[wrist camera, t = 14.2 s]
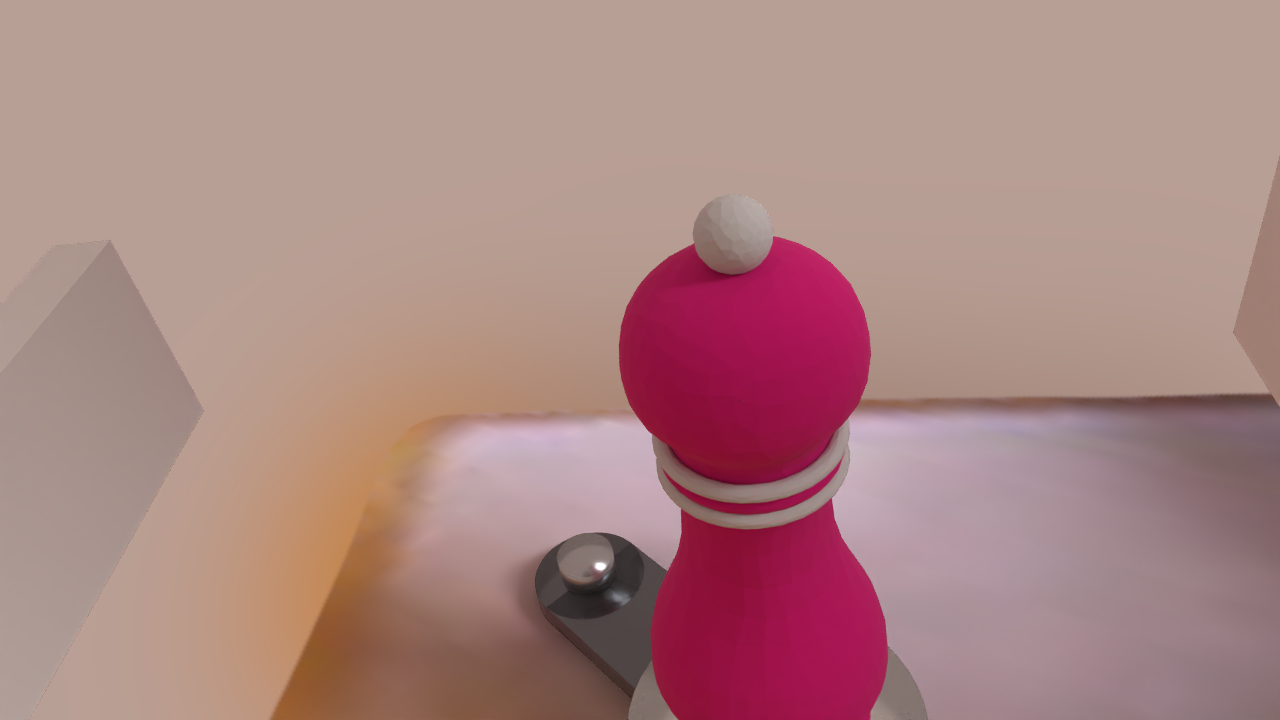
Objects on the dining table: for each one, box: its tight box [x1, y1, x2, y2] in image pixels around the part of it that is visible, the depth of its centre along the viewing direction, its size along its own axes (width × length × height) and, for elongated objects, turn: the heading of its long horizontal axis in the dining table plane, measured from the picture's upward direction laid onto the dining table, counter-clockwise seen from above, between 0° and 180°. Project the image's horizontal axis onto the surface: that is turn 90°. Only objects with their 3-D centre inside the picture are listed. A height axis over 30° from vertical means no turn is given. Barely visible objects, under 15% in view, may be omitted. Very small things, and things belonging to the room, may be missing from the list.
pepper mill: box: [619, 195, 888, 720], centre depth 29 cm, size 7×7×20 cm
